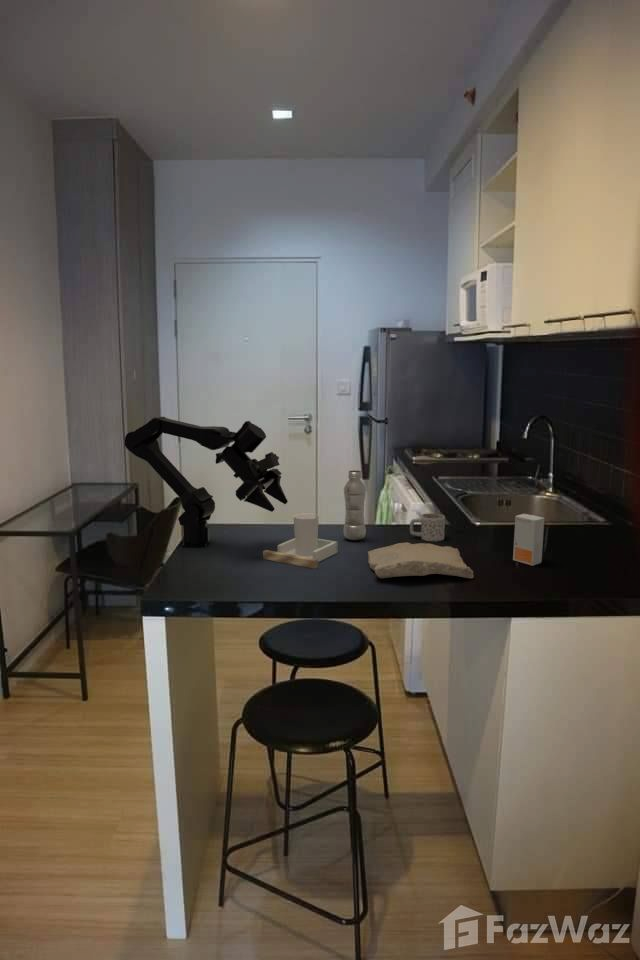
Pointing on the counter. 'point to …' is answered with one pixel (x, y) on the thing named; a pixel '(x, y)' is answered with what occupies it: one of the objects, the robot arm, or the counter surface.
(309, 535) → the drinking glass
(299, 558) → the oak rail
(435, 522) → the mug
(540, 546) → the skincare box
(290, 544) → the tray
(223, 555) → the counter surface
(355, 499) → the plastic bottle
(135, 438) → the robot arm
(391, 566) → the beige flat stone slab
